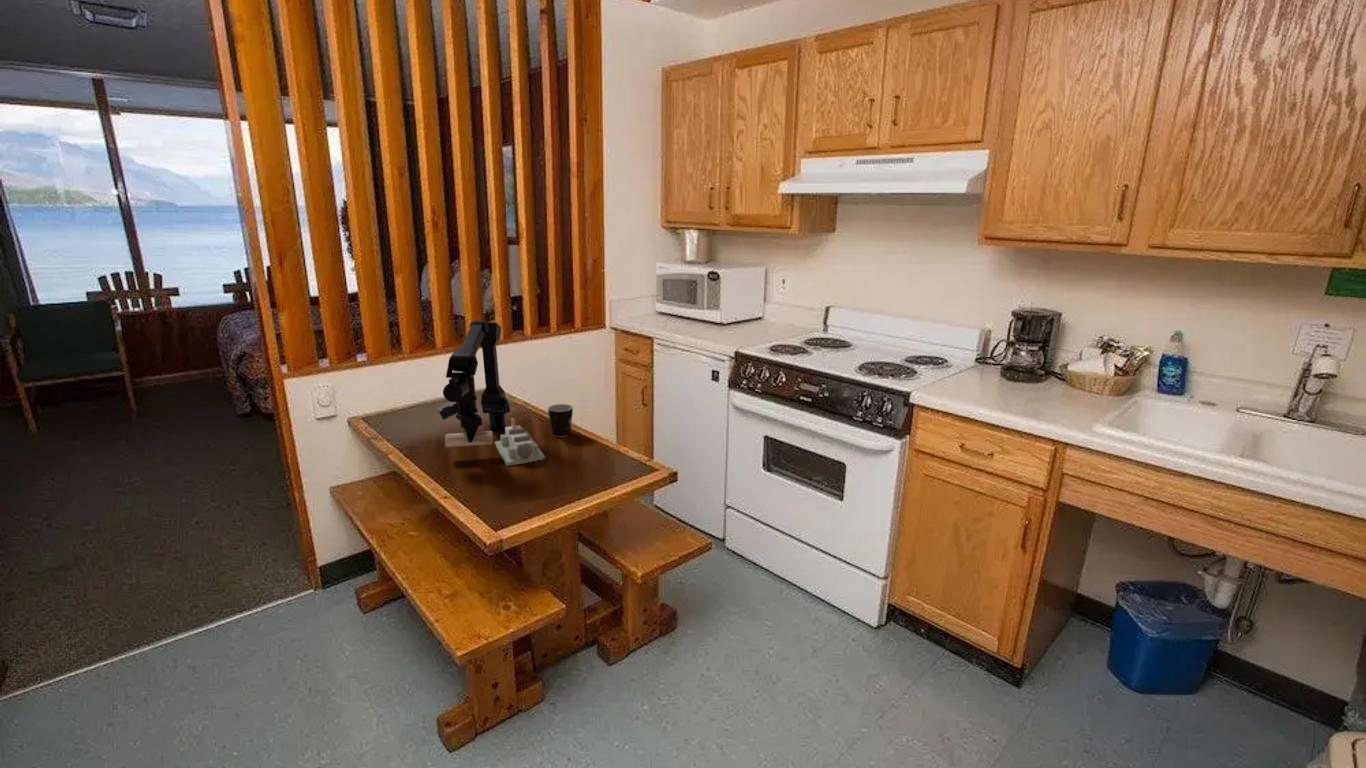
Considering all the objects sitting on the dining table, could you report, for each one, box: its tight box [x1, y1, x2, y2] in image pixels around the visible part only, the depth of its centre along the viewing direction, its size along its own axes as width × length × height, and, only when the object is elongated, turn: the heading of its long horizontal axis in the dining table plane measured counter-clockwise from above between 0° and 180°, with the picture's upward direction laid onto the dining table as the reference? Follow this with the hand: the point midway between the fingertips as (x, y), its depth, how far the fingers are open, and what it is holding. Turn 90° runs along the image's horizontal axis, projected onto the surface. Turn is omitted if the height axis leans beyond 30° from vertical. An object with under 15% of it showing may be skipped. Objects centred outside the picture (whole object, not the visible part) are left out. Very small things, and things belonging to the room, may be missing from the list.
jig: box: [494, 417, 546, 467], centre depth 199 cm, size 21×12×9 cm, turn 27°
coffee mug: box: [547, 403, 574, 436], centre depth 215 cm, size 12×9×10 cm
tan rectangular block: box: [444, 430, 494, 448], centre depth 194 cm, size 4×14×3 cm, turn 105°
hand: (469, 439), depth 194 cm, fingers closed on tan rectangular block, 4 cm apart
